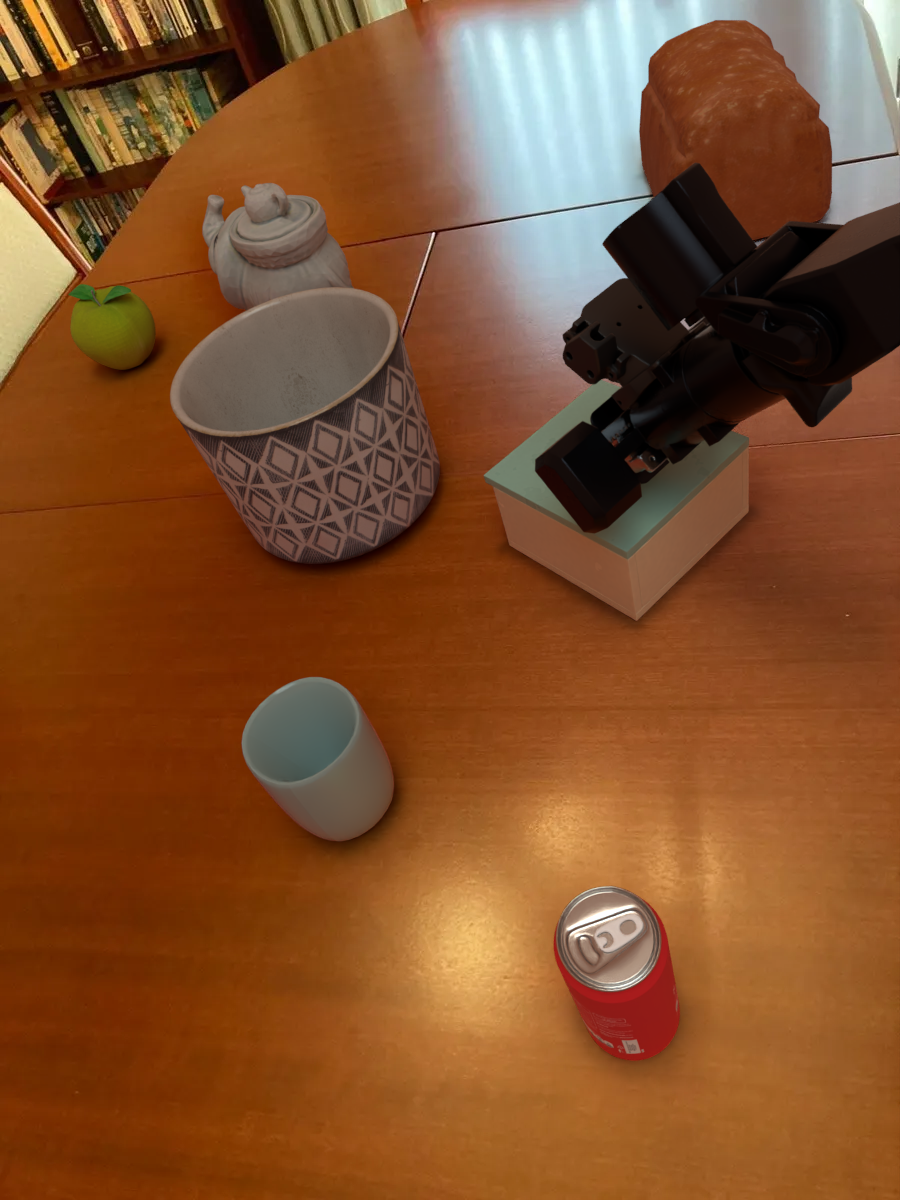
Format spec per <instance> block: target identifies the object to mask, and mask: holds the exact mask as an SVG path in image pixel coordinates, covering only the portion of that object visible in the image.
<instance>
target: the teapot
mask: <svg viewBox="0 0 900 1200" xmlns="http://www.w3.org/2000/svg"><path fill="white" fill-rule="evenodd" d="M240 192H241V193H242V195H243V196H244V202H243V205H244V206H240V207H238V208H236V209H234V210H233V211H232V212H231V213H229V215H228V216H227V218H226V219H224V215H223V208H224V205H225V200H224V198H223V197H222V196H221V195H217V194H210V195H208V197H207V207H206V211H205V214H204V219H203V223H202V229H201V231H202V232H201V233H202V237H203V239H204V242H205V244H206V246H207V247H208V255H207V256H208V261H209V265H210V268H211V270H212V272H213V273H214V274H215V275H216V276H217V280H218V283H219V289H220V292H221V294H222V296H223V298H224V300H225V301H226V302H227V303H228V304H229V305H231V306H232V307H234V308H236V309H238V310H239V309H240V310H244V311H247V310H249V309H251V308H253V307H255V306H257V305H260V304H262V303H264V302H267V301H270V300H272V299H275V298H278V297H281V296H284V295H288V294H292V293H295V292H300V291H305V290H310V289H317V288H329V287H343V288H353V289H355V287H354V286H353V284H352V279H351V275H350V274H351V273H350V269H349V264H348V261H347V258H346V254H345V253H344V251H343V249H342V248H341V246H340V244H339V242H338V241H337V240H336V239H335V238H334V237H333V235H332V234H330V233H329V232H328V231H329V229H328V223H327V215H326V211H325V210H324V208H323V207H322V204H321V203H320V202H319V201H318V200H317V199H315V198H313V197H312V196H307V195H302V194H301V195H300V194H299V195H298V194H286V192H285V189H283V188H282V187H281V186H280V185H279V184H276V183H273V182H265V183H257V184H255V185H254V187H250V186H248V185H246V184H244V185H243V186H241V188H240Z"/></svg>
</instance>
